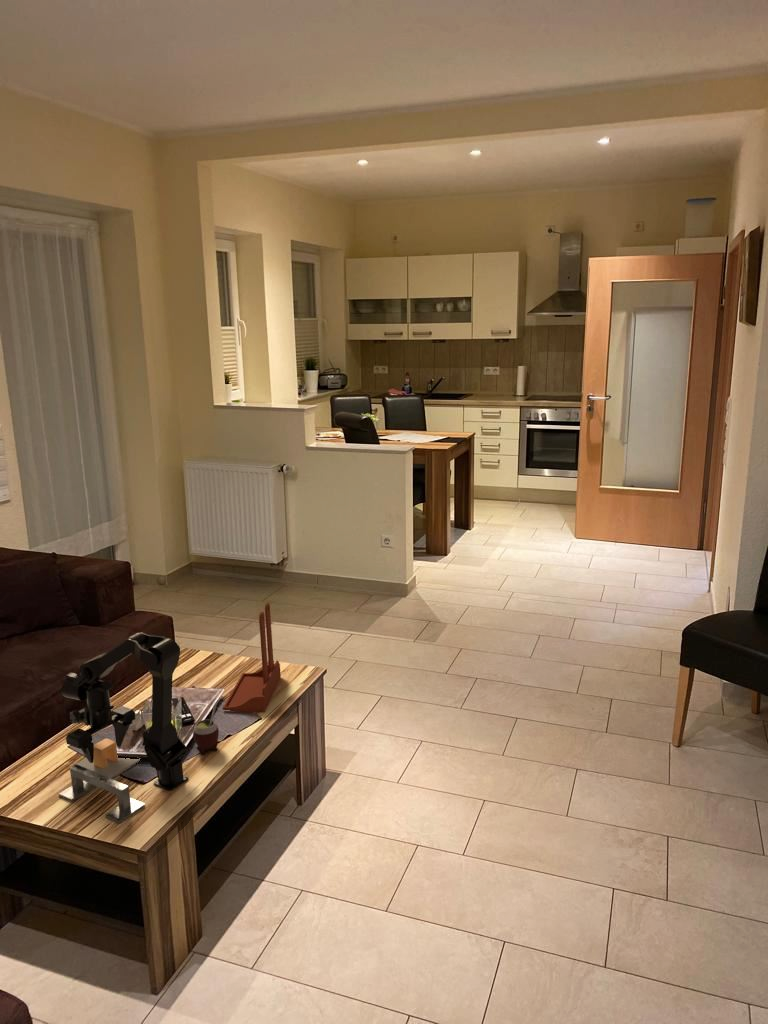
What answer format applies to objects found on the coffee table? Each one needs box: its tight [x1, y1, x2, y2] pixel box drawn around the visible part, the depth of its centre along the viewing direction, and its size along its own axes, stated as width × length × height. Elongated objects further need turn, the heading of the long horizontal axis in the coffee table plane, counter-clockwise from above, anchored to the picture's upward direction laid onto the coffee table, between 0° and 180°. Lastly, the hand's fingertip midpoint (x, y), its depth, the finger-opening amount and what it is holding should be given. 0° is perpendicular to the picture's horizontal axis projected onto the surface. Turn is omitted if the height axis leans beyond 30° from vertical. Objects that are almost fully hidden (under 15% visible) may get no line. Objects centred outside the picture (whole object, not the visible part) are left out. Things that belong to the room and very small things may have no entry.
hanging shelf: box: [222, 602, 282, 713], centre depth 248 cm, size 24×13×30 cm, turn 176°
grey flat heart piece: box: [131, 709, 141, 726], centre depth 230 cm, size 7×2×8 cm, turn 160°
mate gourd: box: [192, 695, 223, 756], centre depth 217 cm, size 8×8×15 cm
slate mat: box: [71, 757, 141, 779], centre depth 212 cm, size 14×12×1 cm
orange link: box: [93, 737, 118, 769], centre depth 212 cm, size 4×5×6 cm
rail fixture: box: [58, 763, 146, 825], centre depth 195 cm, size 23×8×7 cm, turn 58°
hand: (105, 754), depth 212 cm, fingers open, 9 cm apart
